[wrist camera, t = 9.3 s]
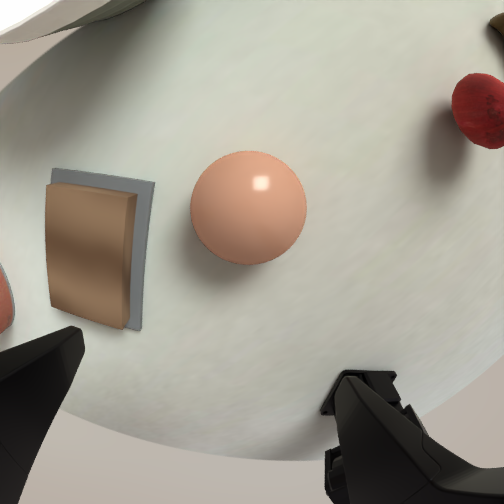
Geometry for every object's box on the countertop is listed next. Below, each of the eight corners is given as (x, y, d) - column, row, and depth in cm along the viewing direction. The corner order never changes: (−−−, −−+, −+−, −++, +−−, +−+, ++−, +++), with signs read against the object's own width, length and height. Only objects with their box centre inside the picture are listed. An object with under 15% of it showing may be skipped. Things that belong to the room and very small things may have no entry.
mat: (141, 327, 22) (139, 331, 21) (56, 301, 21) (54, 303, 21) (155, 182, 18) (152, 182, 18) (55, 168, 17) (52, 168, 17)
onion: (468, 159, 17) (537, 170, 10) (424, 119, 17) (497, 113, 9) (483, 108, 16) (547, 107, 8) (442, 67, 15) (506, 48, 7)
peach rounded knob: (282, 254, 20) (289, 274, 17) (193, 235, 19) (182, 252, 16) (305, 165, 18) (318, 166, 15) (210, 143, 17) (202, 140, 14)
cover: (130, 317, 21) (122, 329, 19) (61, 297, 20) (51, 306, 19) (137, 193, 18) (127, 197, 16) (60, 182, 17) (46, 185, 15)
